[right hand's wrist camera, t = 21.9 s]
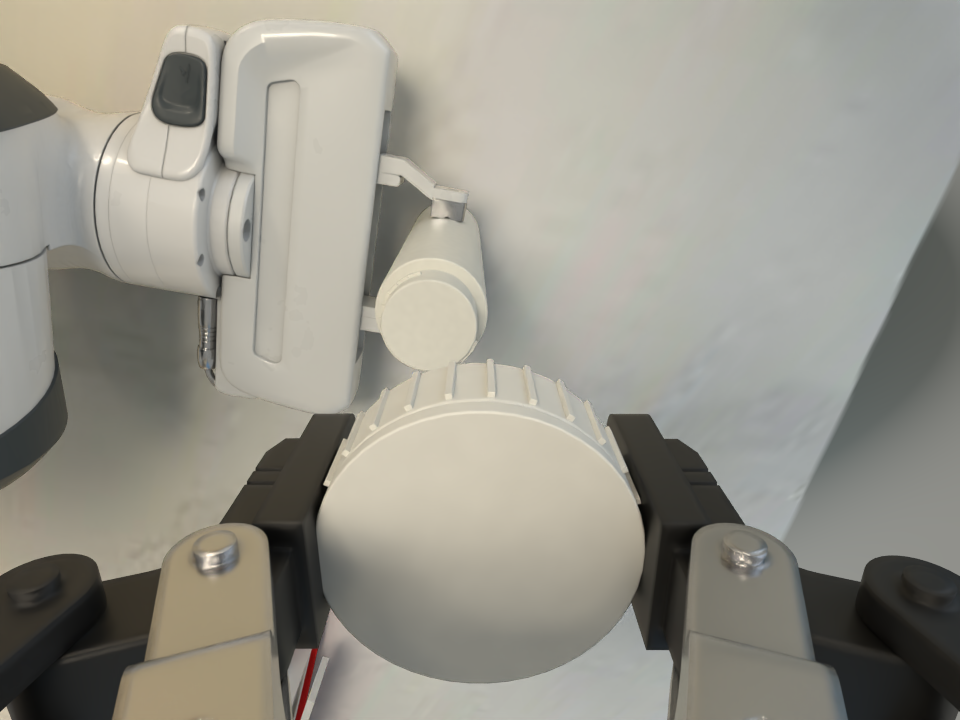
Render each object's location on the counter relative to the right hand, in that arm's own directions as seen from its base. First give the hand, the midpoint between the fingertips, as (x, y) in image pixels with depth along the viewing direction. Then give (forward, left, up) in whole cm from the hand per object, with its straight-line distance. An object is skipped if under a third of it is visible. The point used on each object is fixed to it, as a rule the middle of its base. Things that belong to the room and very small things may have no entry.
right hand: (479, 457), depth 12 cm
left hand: (0, -1, -22) cm, 23 cm away
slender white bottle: (-1, -2, -29) cm, 29 cm away
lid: (0, 0, +3) cm, 3 cm away
